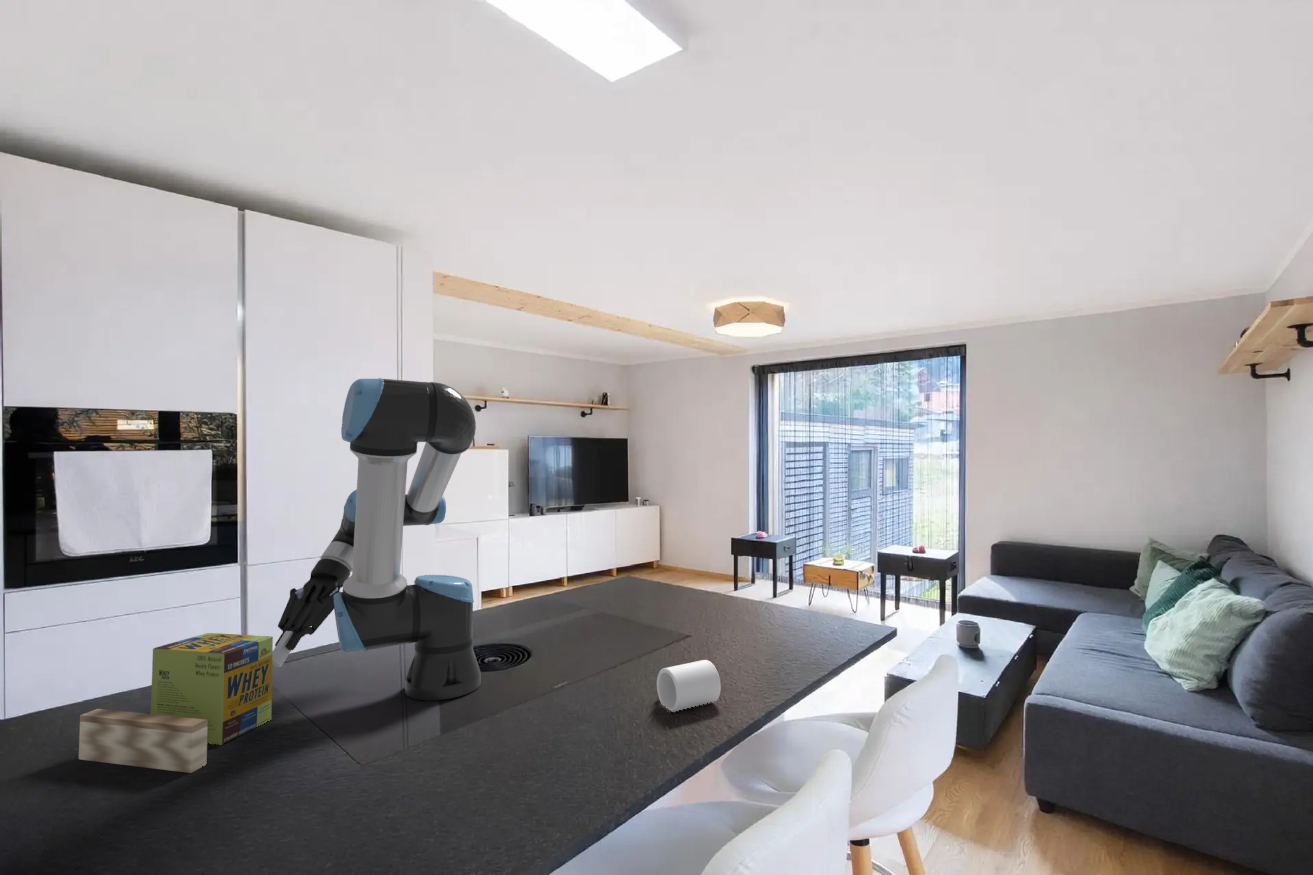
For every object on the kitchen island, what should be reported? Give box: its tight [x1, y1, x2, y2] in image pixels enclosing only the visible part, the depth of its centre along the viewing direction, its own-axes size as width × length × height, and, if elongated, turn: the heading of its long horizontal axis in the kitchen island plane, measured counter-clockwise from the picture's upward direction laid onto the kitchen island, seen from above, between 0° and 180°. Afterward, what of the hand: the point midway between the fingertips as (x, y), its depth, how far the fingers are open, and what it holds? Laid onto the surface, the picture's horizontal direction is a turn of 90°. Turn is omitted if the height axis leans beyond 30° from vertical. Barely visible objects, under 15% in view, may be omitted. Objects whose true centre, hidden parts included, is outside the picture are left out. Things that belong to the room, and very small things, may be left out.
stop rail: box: [78, 708, 208, 774], centre depth 97 cm, size 22×3×7 cm, turn 78°
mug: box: [656, 659, 722, 713], centre depth 120 cm, size 12×10×8 cm
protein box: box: [150, 632, 274, 746], centre depth 109 cm, size 10×15×16 cm
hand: (274, 663), depth 123 cm, fingers closed
